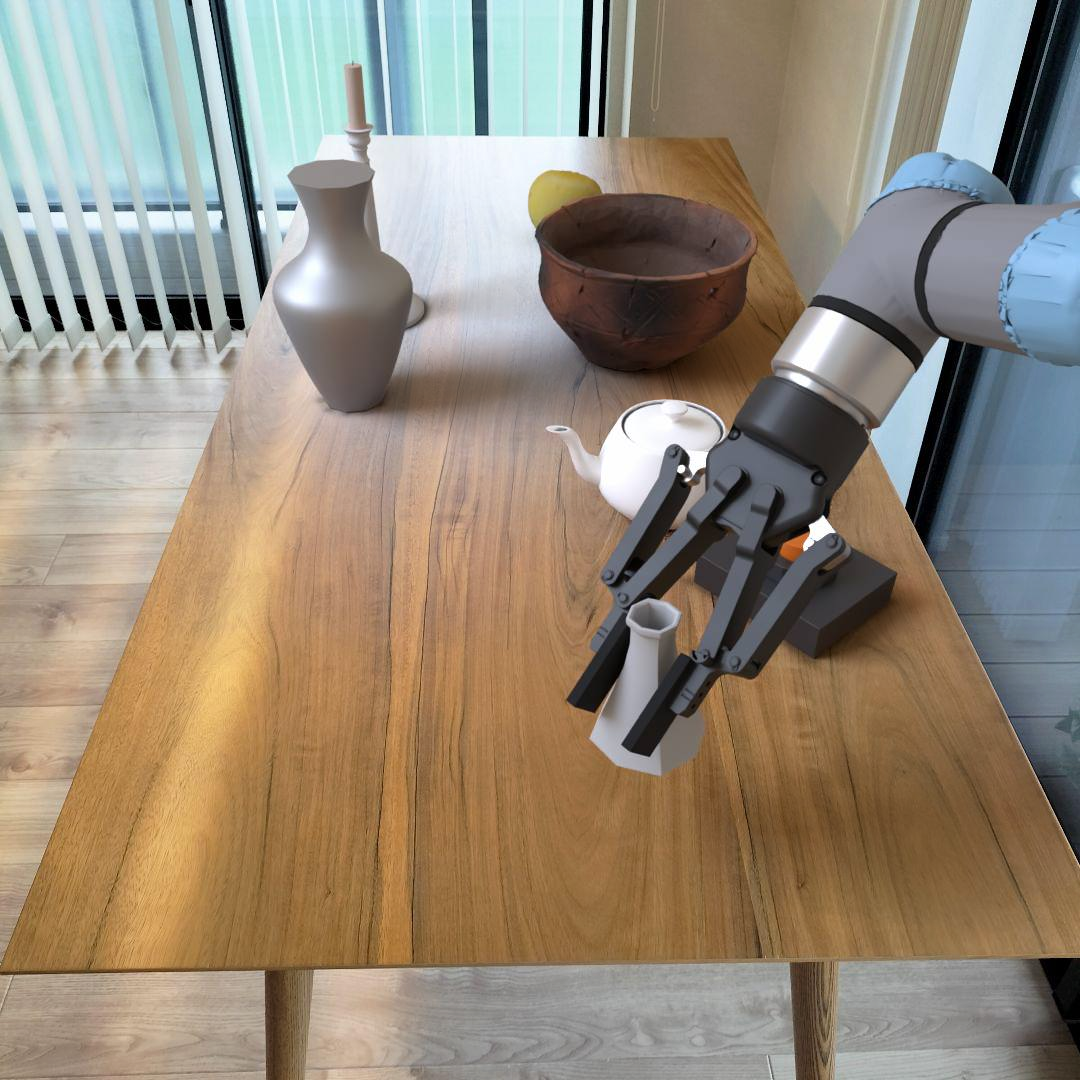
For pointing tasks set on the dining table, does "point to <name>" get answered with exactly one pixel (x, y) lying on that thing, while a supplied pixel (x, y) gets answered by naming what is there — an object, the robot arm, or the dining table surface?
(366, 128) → the candlestick
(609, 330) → the bowl
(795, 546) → the power button
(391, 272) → the vase
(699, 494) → the teapot
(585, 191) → the fruit
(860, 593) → the button box
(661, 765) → the flask
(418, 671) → the dining table surface
